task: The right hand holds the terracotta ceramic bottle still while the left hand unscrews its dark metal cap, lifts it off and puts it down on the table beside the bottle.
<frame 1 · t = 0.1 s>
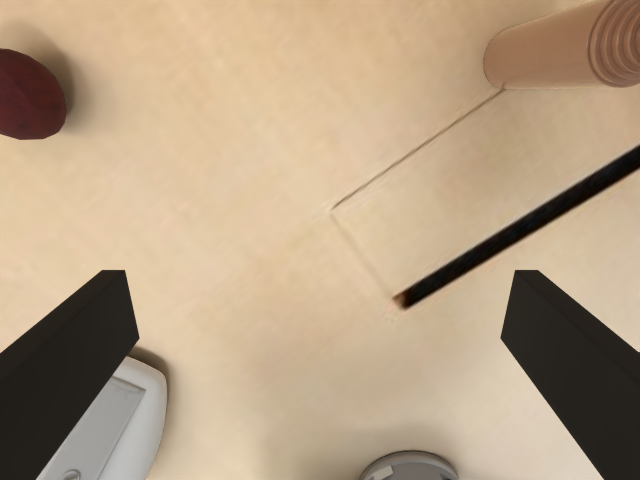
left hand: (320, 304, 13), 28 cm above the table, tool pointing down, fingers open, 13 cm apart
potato: (45, 97, 36), on the table
bottle: (511, 58, 35), on the table
projector: (112, 411, 51), on the table
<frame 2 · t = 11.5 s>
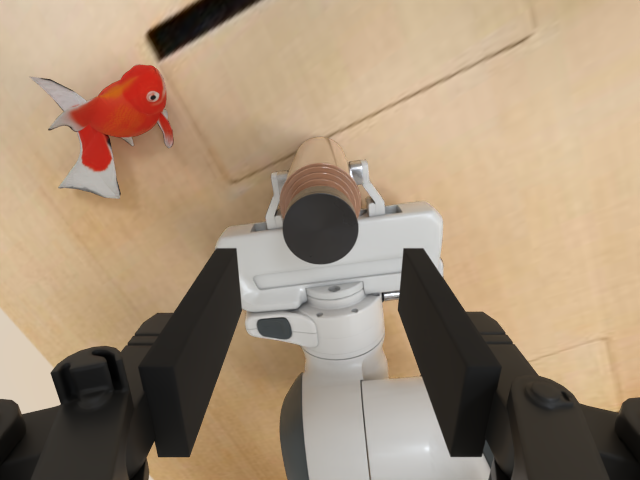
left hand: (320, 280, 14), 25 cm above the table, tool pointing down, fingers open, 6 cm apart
right hand: (318, 166, 32), fingers closed on bottle, 5 cm apart
fish: (128, 130, 37), on the table
cap: (320, 228, 20), point 19 cm above the table, screwed on, not yet turned
bottle: (320, 163, 38), on the table, touching right hand
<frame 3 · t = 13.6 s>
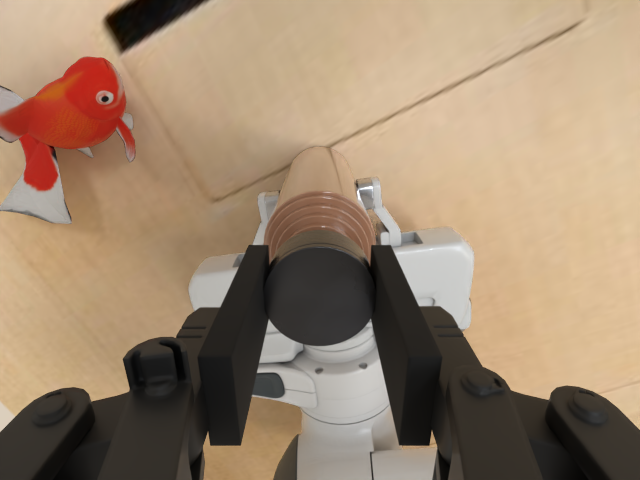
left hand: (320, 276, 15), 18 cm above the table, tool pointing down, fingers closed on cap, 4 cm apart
fish: (86, 138, 30), on the table
cap: (319, 295, 13), point 19 cm above the table, screwed on, not yet turned, touching left hand
bottle: (319, 178, 31), on the table, touching right hand
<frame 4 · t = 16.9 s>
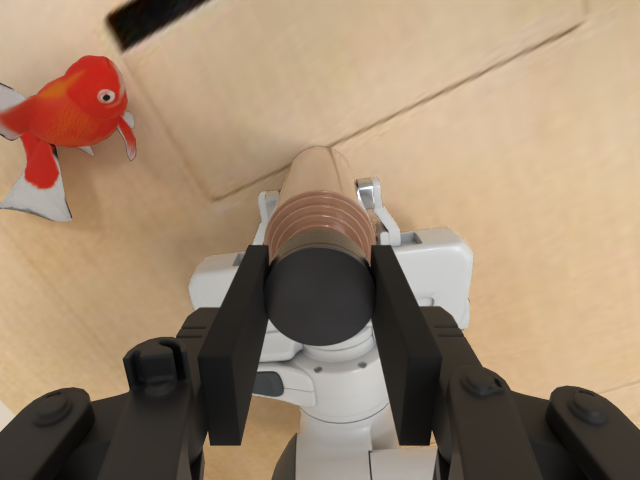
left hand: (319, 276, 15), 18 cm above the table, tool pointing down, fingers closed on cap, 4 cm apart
fish: (87, 136, 30), on the table
cap: (319, 295, 13), point 20 cm above the table, turned 106° so far, risen 0.1 cm, still on its thread, touching left hand
bottle: (319, 178, 32), on the table, touching right hand
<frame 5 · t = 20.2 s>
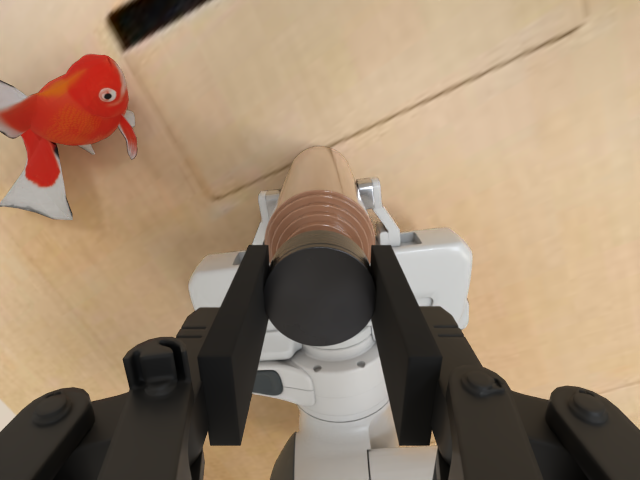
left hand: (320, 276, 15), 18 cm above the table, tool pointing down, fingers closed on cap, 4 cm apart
fish: (88, 135, 30), on the table
cap: (319, 295, 13), point 20 cm above the table, turned 212° so far, risen 0.2 cm, still on its thread, touching left hand
bottle: (319, 178, 32), on the table, touching right hand
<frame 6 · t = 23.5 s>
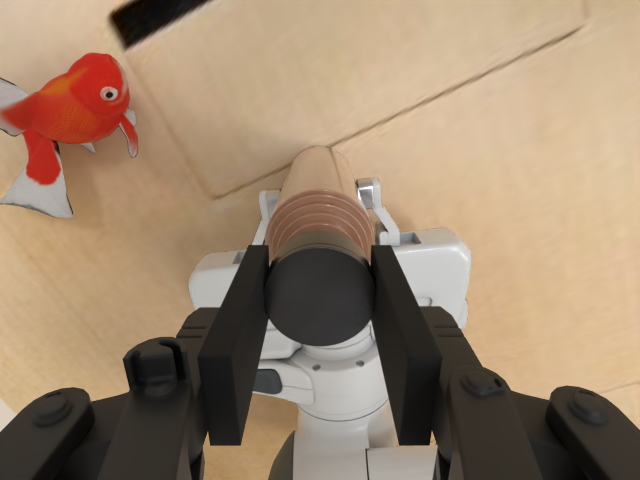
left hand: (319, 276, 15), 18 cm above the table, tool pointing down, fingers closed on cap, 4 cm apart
fish: (88, 133, 30), on the table
cap: (320, 295, 13), point 20 cm above the table, turned 319° so far, risen 0.3 cm, still on its thread, touching left hand
bottle: (320, 177, 32), on the table, touching right hand
when the left hand's fingers open (2 cm above the table, at t = 30.2 s): cap drops 2 cm, point 1 cm above the table.
when the right hand's fingers open (6 cm above the table, at t = 31.5 s): bottle stays where it is, on the table.
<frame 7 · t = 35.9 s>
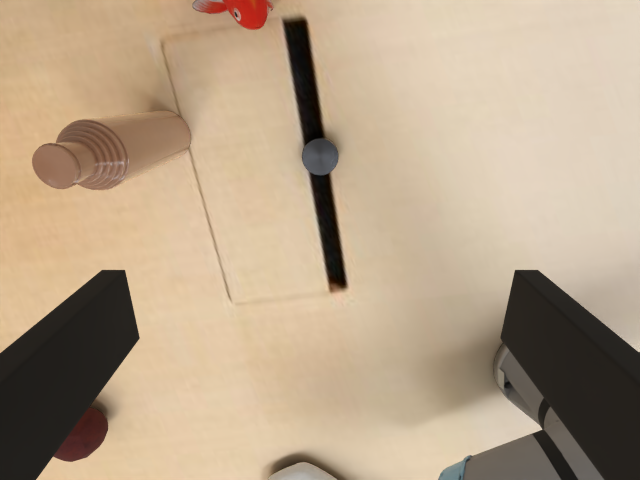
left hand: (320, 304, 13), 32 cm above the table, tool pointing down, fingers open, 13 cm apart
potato: (92, 412, 58), on the table
cap: (320, 156, 42), point 1 cm above the table, off its thread
bottle: (167, 135, 42), on the table
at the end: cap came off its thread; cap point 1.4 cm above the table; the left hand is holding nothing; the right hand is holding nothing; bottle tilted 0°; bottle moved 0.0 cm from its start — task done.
